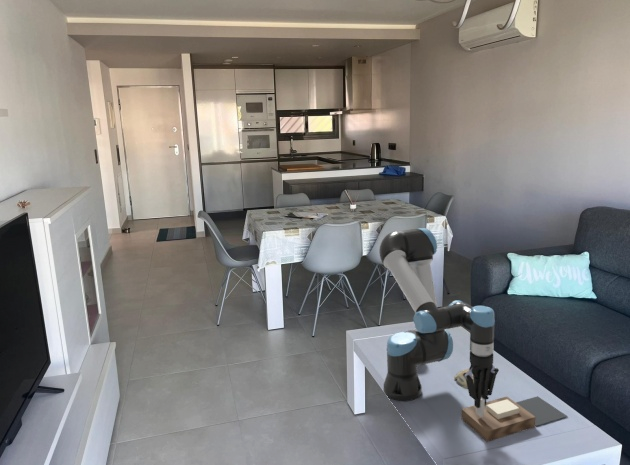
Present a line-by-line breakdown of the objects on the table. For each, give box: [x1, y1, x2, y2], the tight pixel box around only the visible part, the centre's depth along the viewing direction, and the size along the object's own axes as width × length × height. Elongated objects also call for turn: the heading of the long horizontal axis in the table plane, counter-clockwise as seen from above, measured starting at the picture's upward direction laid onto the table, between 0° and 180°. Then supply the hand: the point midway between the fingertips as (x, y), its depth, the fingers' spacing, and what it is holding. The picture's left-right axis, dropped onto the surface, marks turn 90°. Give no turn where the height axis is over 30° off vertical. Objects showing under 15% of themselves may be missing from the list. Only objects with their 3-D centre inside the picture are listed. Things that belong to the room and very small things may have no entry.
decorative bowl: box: [453, 368, 474, 390], centre depth 197 cm, size 15×4×15 cm
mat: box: [516, 395, 568, 427], centre depth 175 cm, size 14×14×1 cm
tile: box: [486, 399, 519, 419], centre depth 169 cm, size 9×6×2 cm, turn 109°
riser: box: [461, 396, 536, 443], centre depth 169 cm, size 20×14×4 cm
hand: (480, 414), depth 166 cm, fingers closed
